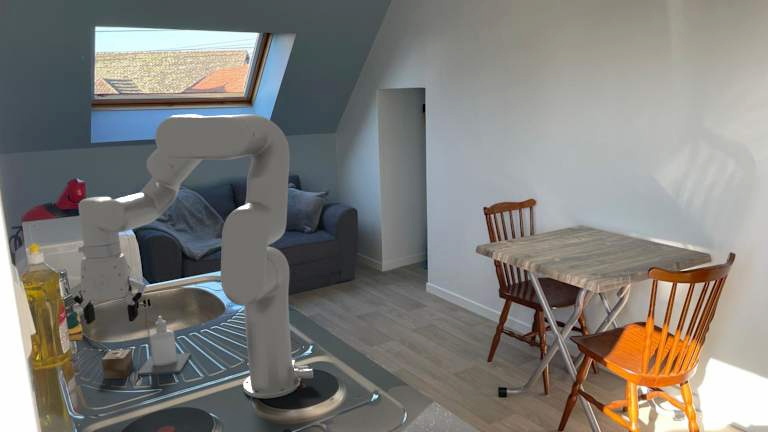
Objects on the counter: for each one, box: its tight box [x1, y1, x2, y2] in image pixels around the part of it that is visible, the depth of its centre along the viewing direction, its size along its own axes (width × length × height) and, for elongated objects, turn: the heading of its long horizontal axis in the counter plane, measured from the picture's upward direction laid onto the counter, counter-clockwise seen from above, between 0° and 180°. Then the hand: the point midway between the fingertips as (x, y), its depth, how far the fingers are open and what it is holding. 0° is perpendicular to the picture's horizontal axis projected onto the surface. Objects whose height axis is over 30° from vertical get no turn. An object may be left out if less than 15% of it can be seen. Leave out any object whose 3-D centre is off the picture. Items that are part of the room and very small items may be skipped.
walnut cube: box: [101, 349, 134, 380], centre depth 140 cm, size 5×5×5 cm
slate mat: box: [136, 352, 192, 376], centre depth 144 cm, size 10×10×1 cm
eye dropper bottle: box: [149, 315, 178, 366], centre depth 143 cm, size 4×6×12 cm
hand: (112, 320), depth 138 cm, fingers open, 9 cm apart
